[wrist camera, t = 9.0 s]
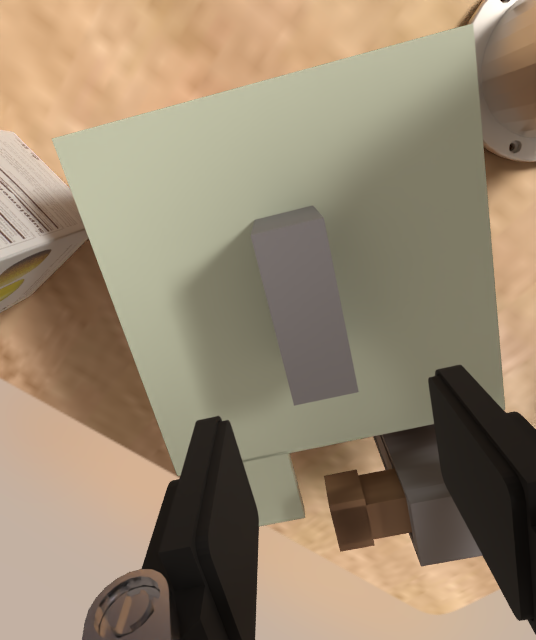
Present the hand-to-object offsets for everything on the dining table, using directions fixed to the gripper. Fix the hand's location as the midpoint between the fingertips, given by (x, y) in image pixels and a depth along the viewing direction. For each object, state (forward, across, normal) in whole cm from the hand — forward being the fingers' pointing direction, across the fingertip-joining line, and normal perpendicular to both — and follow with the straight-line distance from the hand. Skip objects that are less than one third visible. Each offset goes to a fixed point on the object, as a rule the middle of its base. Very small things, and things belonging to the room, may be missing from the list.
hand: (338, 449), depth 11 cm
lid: (+15, 0, +2) cm, 16 cm away
